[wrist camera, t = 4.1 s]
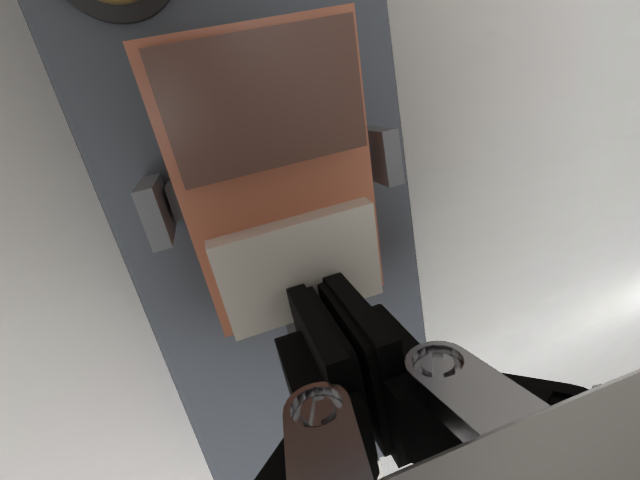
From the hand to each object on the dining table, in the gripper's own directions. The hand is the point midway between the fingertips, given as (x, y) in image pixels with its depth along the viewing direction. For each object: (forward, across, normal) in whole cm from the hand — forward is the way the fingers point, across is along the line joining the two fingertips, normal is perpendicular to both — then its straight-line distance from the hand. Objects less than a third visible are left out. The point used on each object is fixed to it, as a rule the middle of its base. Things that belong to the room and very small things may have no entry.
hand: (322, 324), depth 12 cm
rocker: (+1, 0, -4) cm, 4 cm away
